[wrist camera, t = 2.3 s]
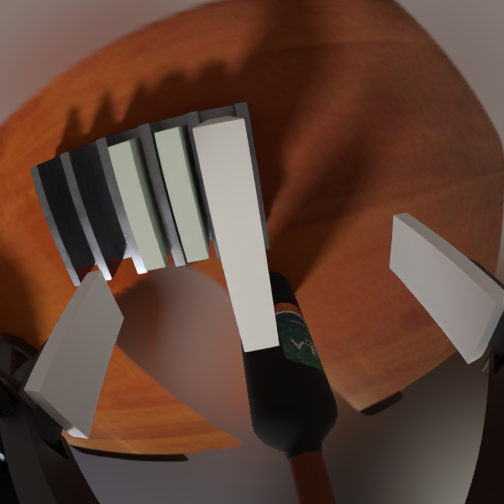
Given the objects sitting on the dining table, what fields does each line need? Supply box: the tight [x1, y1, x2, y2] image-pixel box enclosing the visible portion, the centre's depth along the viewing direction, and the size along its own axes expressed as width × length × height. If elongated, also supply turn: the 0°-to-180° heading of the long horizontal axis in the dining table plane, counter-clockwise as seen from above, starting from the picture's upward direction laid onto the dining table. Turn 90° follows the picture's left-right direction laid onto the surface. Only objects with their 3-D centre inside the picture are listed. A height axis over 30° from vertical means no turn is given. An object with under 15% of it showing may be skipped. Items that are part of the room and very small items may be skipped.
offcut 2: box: [154, 125, 210, 262], centre depth 26 cm, size 2×12×6 cm, turn 9°
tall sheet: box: [193, 116, 279, 352], centre depth 21 cm, size 2×12×18 cm, turn 9°
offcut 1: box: [108, 137, 171, 271], centre depth 26 cm, size 2×12×6 cm, turn 9°
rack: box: [30, 102, 270, 286], centre depth 27 cm, size 23×14×6 cm, turn 99°
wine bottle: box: [240, 271, 338, 504], centre depth 25 cm, size 8×8×30 cm
